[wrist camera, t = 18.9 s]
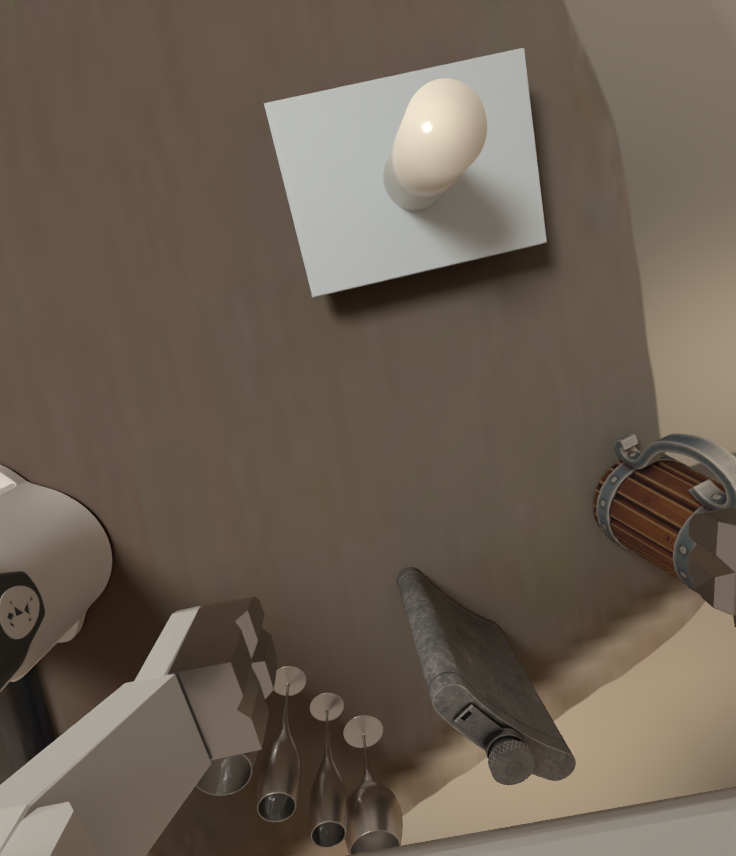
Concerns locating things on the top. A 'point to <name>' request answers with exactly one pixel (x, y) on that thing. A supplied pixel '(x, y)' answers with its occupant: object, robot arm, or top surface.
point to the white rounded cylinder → (434, 143)
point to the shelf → (364, 186)
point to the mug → (662, 497)
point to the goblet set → (328, 805)
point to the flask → (482, 685)
